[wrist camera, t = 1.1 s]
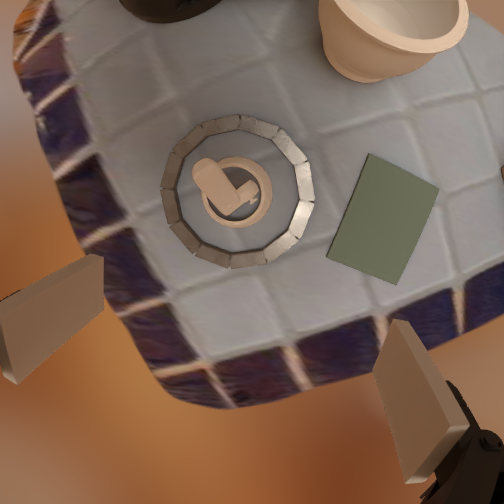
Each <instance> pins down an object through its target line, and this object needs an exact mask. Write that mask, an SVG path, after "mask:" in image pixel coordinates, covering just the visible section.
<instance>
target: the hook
mask: <svg viewBox="0 0 504 504" xmlns="http://www.w3.org/2000/svg"><path fill="white" fill-rule="evenodd" d="M228 167H239V168H243V169H245V170H247V171H249V172H250V173H252V174H253V175H254V176H255V178H256V179H257V181H258V182H259V185H260V188H261V201H260V204H259V207H258V209H257V210H256V211H255V213H254V214H253V215H251V216H250V217H249V218H247V219H245V220H242V221H228V220H225V219H223V218H221V217H219V216H218V215H217V214H216V213H215V212H214V211H213V210H212V208H211V207H210V205H209V202H208V198H209V199H210V201H211V202H212V203H213V204H214V205H215V206H216V208H217V209H218V210H219V211H220V212H221V213H223V214H224V215H225V216H227V215H229V214H230V213H232V212H233V211H234V210H236V209H237V208H238V207H240V206H241V205H242V204H243V203H245V202H247V201H249V200H250V201H251V202H250V205H251V204H253V203H254V202H255V201H257V200H258V199H257V198H255V199H254V196H255V195H256V194H257V192H258V191H259V189H258V187H257V184H256V183H254V182H253V181H252V180H249V181H247V182H246V183H245V184H243V185H242V186H241V187H239V188H238V189H237V190H236V188H235V187H234V186H233V185H232V184H231V183H230V181H229V180H228V178H227V177H226V175H225V174H224V172H223V171H222V169H224V168H228ZM192 176H193V180H194V182H195V183H196V184H197V185H198V187H199V188H200V189H201V196H202V202H203V204H204V207H205V209H206V211H207V212H208V214H209V215H210V216H211V217H212V218H213V219H214V220H216V221H217V222H218V223H220V224H222V225H224V226H227V227H231V228H243V227H247V226H250V225H253V224H254V223H256V222H258V221H259V220H260V219H261V218H262V217H263V216H264V215H265V214H266V212H267V211H268V209H269V207H270V205H271V201H272V185H271V181H270V179H269V176H268V175H267V173H266V172H265V170H264V169H263V168H262V167H261V166H260V165H259V164H257V163H256V162H254V161H252V160H250V159H248V158H243V157H229V158H225V159H223V160H220V161H219V162H217V163H216V162H215V161H214V160H212V159H210V158H204V159H201V160H200V161H198V162H197V163H196V164H195V165H194V166H193V168H192ZM207 197H208V198H207Z"/></svg>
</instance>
